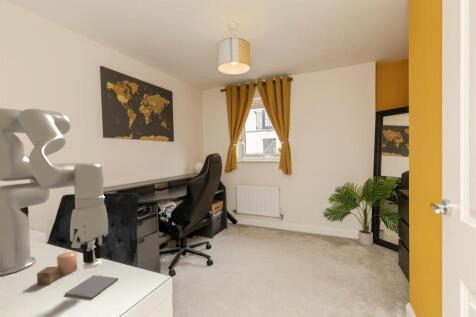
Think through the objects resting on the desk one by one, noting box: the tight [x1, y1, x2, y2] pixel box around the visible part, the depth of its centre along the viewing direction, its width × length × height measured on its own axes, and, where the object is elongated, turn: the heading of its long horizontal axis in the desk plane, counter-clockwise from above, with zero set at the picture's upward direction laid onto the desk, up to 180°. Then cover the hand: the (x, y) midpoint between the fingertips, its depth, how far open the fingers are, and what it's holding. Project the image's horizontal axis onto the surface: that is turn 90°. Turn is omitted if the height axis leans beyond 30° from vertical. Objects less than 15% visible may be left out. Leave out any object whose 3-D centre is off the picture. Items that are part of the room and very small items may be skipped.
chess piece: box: [82, 239, 103, 270], centre depth 70 cm, size 5×5×10 cm
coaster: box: [64, 274, 119, 300], centre depth 70 cm, size 10×10×1 cm
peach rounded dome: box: [56, 251, 78, 276], centre depth 80 cm, size 6×6×6 cm
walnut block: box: [36, 266, 60, 286], centre depth 74 cm, size 4×4×4 cm
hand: (92, 259), depth 70 cm, fingers closed on chess piece
